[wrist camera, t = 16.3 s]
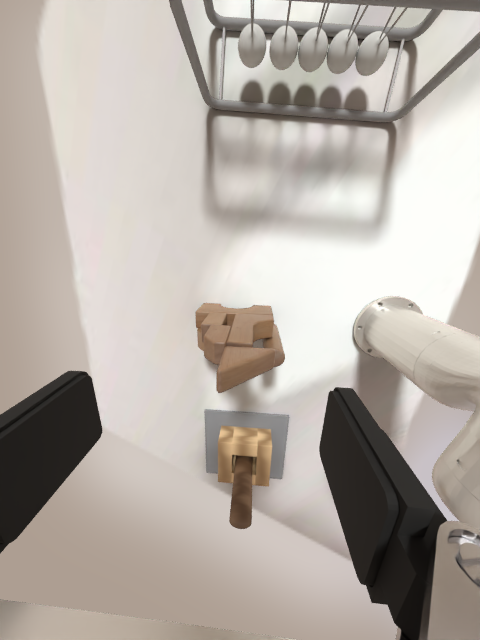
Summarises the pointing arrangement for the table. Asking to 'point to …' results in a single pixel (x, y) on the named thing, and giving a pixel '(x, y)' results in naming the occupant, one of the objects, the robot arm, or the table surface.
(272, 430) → the slate mat
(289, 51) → the newton's cradle
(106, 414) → the table surface
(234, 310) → the wooden toy
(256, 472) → the square-hole wood block
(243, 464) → the walnut dowel
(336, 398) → the robot arm
